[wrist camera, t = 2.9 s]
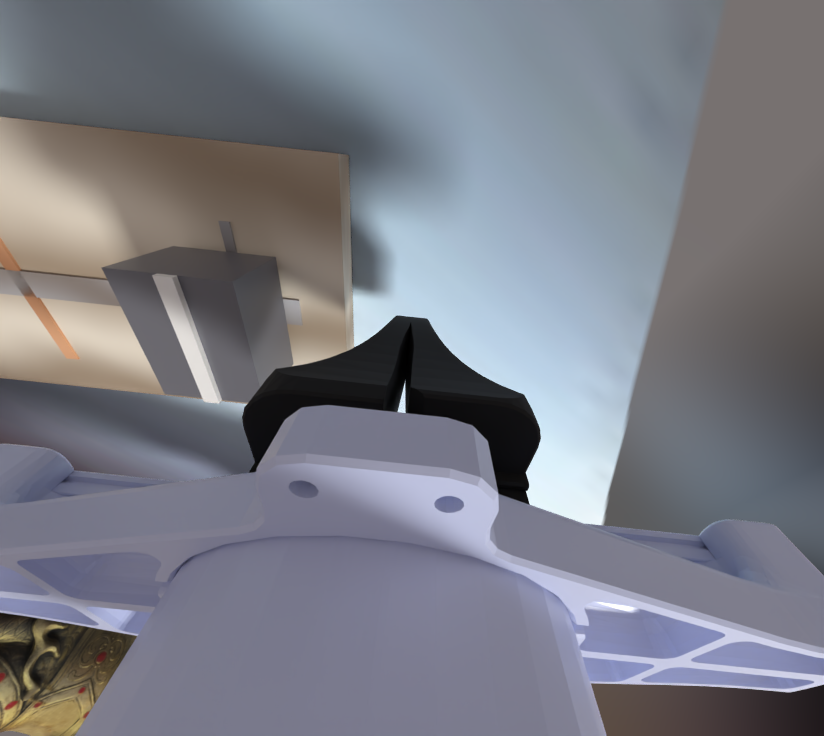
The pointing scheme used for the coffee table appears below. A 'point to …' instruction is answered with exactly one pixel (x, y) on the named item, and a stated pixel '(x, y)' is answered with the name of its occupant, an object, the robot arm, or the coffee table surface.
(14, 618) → the figurine
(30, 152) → the fader console
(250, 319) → the fader tab
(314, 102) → the coffee table surface
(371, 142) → the coffee table surface
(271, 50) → the coffee table surface
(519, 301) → the coffee table surface
